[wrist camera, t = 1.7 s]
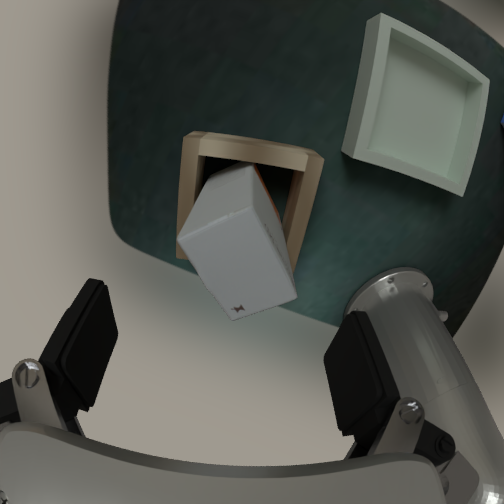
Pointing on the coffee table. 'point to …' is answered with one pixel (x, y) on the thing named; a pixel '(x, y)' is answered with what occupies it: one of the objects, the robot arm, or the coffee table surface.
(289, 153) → the collar
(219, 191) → the skincare box
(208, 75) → the coffee table surface
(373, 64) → the tray
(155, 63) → the coffee table surface
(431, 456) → the robot arm
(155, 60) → the coffee table surface
